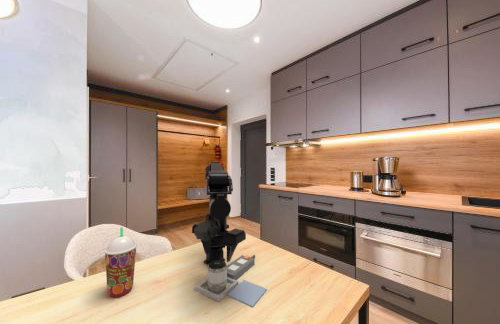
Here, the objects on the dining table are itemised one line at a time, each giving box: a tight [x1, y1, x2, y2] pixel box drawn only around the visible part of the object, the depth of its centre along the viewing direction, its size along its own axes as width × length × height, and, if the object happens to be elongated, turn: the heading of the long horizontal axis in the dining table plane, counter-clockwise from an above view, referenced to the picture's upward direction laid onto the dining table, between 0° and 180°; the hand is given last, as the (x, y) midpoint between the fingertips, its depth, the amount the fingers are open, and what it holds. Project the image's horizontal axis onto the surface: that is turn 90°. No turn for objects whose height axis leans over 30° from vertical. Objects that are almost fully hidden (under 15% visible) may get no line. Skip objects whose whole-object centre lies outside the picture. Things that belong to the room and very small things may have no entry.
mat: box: [227, 279, 268, 308], centre depth 61 cm, size 9×9×1 cm
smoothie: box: [104, 226, 138, 298], centre depth 61 cm, size 8×8×20 cm
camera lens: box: [207, 260, 228, 294], centre depth 64 cm, size 6×6×8 cm
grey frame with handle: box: [194, 254, 256, 303], centre depth 72 cm, size 10×29×3 cm, turn 148°
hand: (217, 257), depth 64 cm, fingers open, 9 cm apart
